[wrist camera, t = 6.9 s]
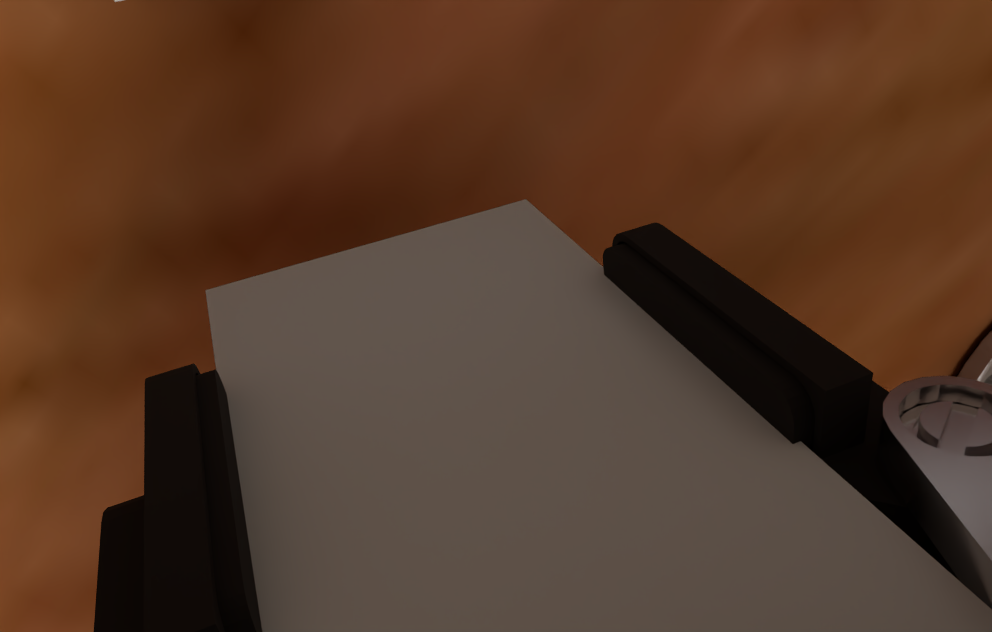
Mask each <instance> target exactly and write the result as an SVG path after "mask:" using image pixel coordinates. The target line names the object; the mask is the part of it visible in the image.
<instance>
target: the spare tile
mask: <svg viewBox="0 0 992 632" xmlns="http://www.w3.org/2000/svg"><path fill="white" fill-rule="evenodd" d="M206 298H207V305H208V313H209V320H210V328H211V335H212V342H213V350H214V357H215V365H216V371H217V372H218V374H219V376H220V378H221V381H222V383H223V386H224V388H225V391H226V393H227V399H228V406H229V413H230V419H231V426H232V433H233V440H234V446H235V453H236V460H237V466H238V473H239V480H240V486H241V493H242V500H243V506H244V513H245V520H246V526H247V533H248V540H249V546H250V553H251V560H252V566H253V573H254V580H255V586H256V593H257V600H258V607H259V613H260V620H261V627H262V632H992V609H991V608H989V607H988V606H987V605H986V604H985V603H984V602H983V601H982V600H980V599H979V598H978V597H977V596H976V595H975V594H974V593H972V592H971V591H970V590H969V589H968V588H967V587H966V586H964V585H963V584H962V583H961V582H960V581H959V580H958V579H957V578H955V577H954V576H953V575H952V574H951V573H950V572H949V571H947V570H946V569H945V568H944V567H943V566H942V565H941V564H940V563H938V562H937V561H936V560H935V559H934V558H933V557H932V556H930V555H929V554H928V553H927V552H926V551H925V550H924V549H922V548H921V547H920V546H919V545H918V544H917V543H916V542H915V541H913V540H912V539H911V538H910V537H909V536H908V535H907V534H905V533H904V532H903V531H902V530H901V529H900V528H899V527H898V526H896V525H895V524H894V523H893V522H892V521H891V520H890V519H888V518H887V517H886V516H885V515H884V514H883V513H882V512H880V511H879V510H878V509H877V508H876V507H875V506H874V505H873V504H871V503H870V502H869V501H868V500H867V499H866V498H865V497H863V496H862V495H861V494H860V493H859V492H858V491H857V490H856V489H854V488H853V487H852V486H851V485H850V484H849V483H848V482H846V481H845V480H844V479H843V478H842V477H841V476H840V475H838V474H837V473H836V472H835V471H834V470H833V469H832V468H831V467H829V466H828V465H827V464H826V463H825V462H824V461H823V460H821V459H820V458H819V457H818V456H817V455H816V454H815V453H814V452H812V451H811V450H810V449H809V448H808V447H807V446H806V445H804V444H803V443H802V442H801V441H800V442H797V443H795V444H792V443H791V442H790V441H789V440H788V439H786V438H785V437H784V436H783V435H782V434H781V433H780V432H779V431H778V430H776V429H775V428H774V427H773V426H772V425H771V424H770V423H769V422H768V421H766V420H765V419H764V418H763V417H762V416H761V415H760V414H759V413H757V412H756V411H755V410H754V409H753V408H752V407H751V406H750V405H749V404H747V403H746V402H745V401H744V400H743V399H742V398H741V397H740V396H739V395H737V394H736V393H735V392H734V391H733V390H732V389H731V388H730V387H728V386H727V385H726V384H725V383H724V382H723V381H722V380H721V379H720V378H718V377H717V376H716V375H715V374H714V373H713V372H712V371H711V370H710V369H708V368H707V367H706V366H705V365H704V364H703V363H702V362H701V361H699V360H698V359H697V358H696V357H695V356H694V355H693V354H692V353H691V352H689V351H688V350H687V349H686V348H685V347H684V346H683V345H682V344H681V343H679V342H678V341H677V340H676V339H675V338H674V337H673V336H672V335H671V334H669V333H668V332H667V331H666V330H665V329H664V328H663V327H662V326H660V325H659V324H658V323H657V322H656V321H655V320H654V319H653V318H652V317H650V316H649V315H648V314H647V313H646V312H645V311H644V310H643V309H642V308H640V307H639V306H638V305H637V304H636V303H635V302H634V301H633V300H631V299H630V298H629V297H628V296H627V295H626V294H625V293H624V292H623V291H621V290H620V289H619V288H618V287H617V286H616V285H615V284H614V283H613V282H611V281H610V280H609V279H608V278H607V277H606V276H605V275H604V268H603V267H602V266H601V265H600V264H599V263H598V262H597V261H596V260H594V259H593V258H592V257H591V256H590V255H589V254H588V253H586V252H585V251H584V250H583V249H582V248H581V247H580V246H579V245H577V244H576V243H575V242H574V241H573V240H572V239H571V238H569V237H568V236H567V235H566V234H565V233H564V232H563V231H561V230H560V229H559V228H558V227H557V226H556V225H555V224H554V223H552V222H551V221H550V220H549V219H548V218H547V217H546V216H544V215H543V214H542V213H541V212H540V211H539V210H538V209H537V208H535V207H534V206H533V205H532V204H531V203H530V202H529V201H527V200H526V199H525V200H521V201H518V202H514V203H511V204H507V205H504V206H500V207H497V208H493V209H490V210H486V211H483V212H479V213H476V214H472V215H469V216H465V217H462V218H458V219H455V220H451V221H448V222H444V223H440V224H437V225H433V226H430V227H426V228H423V229H419V230H416V231H412V232H409V233H405V234H402V235H398V236H395V237H391V238H388V239H384V240H381V241H377V242H374V243H370V244H367V245H363V246H360V247H356V248H352V249H349V250H345V251H342V252H338V253H335V254H331V255H328V256H324V257H321V258H317V259H314V260H310V261H307V262H303V263H300V264H296V265H293V266H289V267H286V268H282V269H279V270H275V271H271V272H268V273H264V274H261V275H257V276H254V277H250V278H247V279H243V280H240V281H236V282H233V283H229V284H226V285H222V286H219V287H215V288H212V289H208V290H206Z"/></svg>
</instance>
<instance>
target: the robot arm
mask: <svg viewBox="0 0 992 632" xmlns="http://www.w3.org/2000/svg"><path fill="white" fill-rule="evenodd" d="M603 268H604V275H605V276H606V277H607V278H608V279H609V280H610V281H611V282H613V283H614V284H615V285H616V286H617V287H618V288H619V289H620V290H621V291H623V292H624V293H625V294H626V295H627V296H628V297H629V298H630V299H631V300H633V301H634V302H635V303H636V304H637V305H638V306H639V307H640V308H642V309H643V310H644V311H645V312H646V313H647V314H648V315H649V316H650V317H652V318H653V319H654V320H655V321H656V322H657V323H658V324H659V325H660V326H662V327H663V328H664V329H665V330H666V331H667V332H668V333H669V334H671V335H672V336H673V337H674V338H675V339H676V340H677V341H678V342H679V343H681V344H682V345H683V346H684V347H685V348H686V349H687V350H688V351H689V352H691V353H692V354H693V355H694V356H695V357H696V358H697V359H698V360H699V361H701V362H702V363H703V364H704V365H705V366H706V367H707V368H708V369H710V370H711V371H712V372H713V373H714V374H715V375H716V376H717V377H718V378H720V379H721V380H722V381H723V382H724V383H725V384H726V385H727V386H728V387H730V388H731V389H732V390H733V391H734V392H735V393H736V394H737V395H739V396H740V397H741V398H742V399H743V400H744V401H745V402H746V403H747V404H749V405H750V406H751V407H752V408H753V409H754V410H755V411H756V412H757V413H759V414H760V415H761V416H762V417H763V418H764V419H765V420H766V421H768V422H769V423H770V424H771V425H772V426H773V427H774V428H775V429H776V430H778V431H779V432H780V433H781V434H782V435H783V436H784V437H785V438H786V439H788V440H789V441H790V442H791V443H792V444H795V443H797V442H800V441H801V442H802V443H803V444H804V445H806V446H807V447H808V448H809V449H810V450H811V451H812V452H814V453H815V454H816V455H817V456H818V457H819V458H820V459H821V460H823V461H824V462H825V463H826V464H827V465H828V466H829V467H831V468H832V469H833V470H834V471H835V472H836V473H837V474H838V475H840V476H841V477H842V478H843V479H844V480H845V481H846V482H848V483H849V484H850V485H851V486H852V487H853V488H854V489H856V490H857V491H858V492H859V493H860V494H861V495H862V496H863V497H865V498H866V499H867V500H868V501H869V502H870V503H871V504H873V505H874V506H875V507H876V508H877V509H878V510H879V511H880V512H882V513H883V514H884V515H885V516H886V517H887V518H888V519H890V520H891V521H892V522H893V523H894V524H895V525H896V526H898V527H899V528H900V529H901V530H902V531H903V532H904V533H905V534H907V535H908V536H909V537H910V538H911V539H912V540H913V541H915V542H916V543H917V544H918V545H919V546H920V547H921V548H922V549H924V550H925V551H926V552H927V553H928V554H929V555H930V556H932V557H933V558H934V559H935V560H936V561H937V562H938V563H940V564H941V565H942V566H943V567H944V568H945V569H946V570H947V571H949V572H950V573H951V574H952V575H953V576H954V577H955V578H957V579H958V580H959V581H960V582H961V583H962V584H963V585H964V586H966V587H967V588H968V589H969V590H970V591H971V592H972V593H974V594H975V595H976V596H977V597H978V598H979V599H980V600H982V601H983V602H984V603H985V604H986V605H987V606H988V607H989V608H991V609H992V330H991V331H990V332H989V333H988V335H987V336H986V337H985V338H984V339H983V340H982V341H981V343H980V344H979V345H978V347H977V348H976V349H975V351H974V352H973V353H972V355H971V356H970V357H969V359H968V360H967V361H966V363H965V364H964V366H963V368H962V369H961V371H960V373H959V375H958V376H957V377H952V376H933V377H922V378H918V379H914V380H911V381H907V382H904V383H902V384H901V385H899V386H898V387H896V388H894V389H893V390H891V391H890V393H889V392H888V391H886V390H885V389H884V388H882V387H881V386H879V385H878V384H877V383H875V382H874V381H872V377H873V373H872V372H871V371H870V370H868V369H867V368H865V367H864V366H862V365H861V364H860V363H858V362H857V361H855V360H854V359H852V358H851V357H850V356H848V355H847V354H845V353H844V352H842V351H841V350H840V349H838V348H837V347H835V346H834V345H832V344H831V343H830V342H828V341H827V340H825V339H824V338H822V337H821V336H820V335H818V334H817V333H815V332H814V331H812V330H811V329H810V328H808V327H807V326H805V325H804V324H802V323H801V322H800V321H798V320H797V319H795V318H794V317H792V316H791V315H790V314H788V313H787V312H785V311H784V310H782V309H781V308H780V307H778V306H777V305H775V304H774V303H772V302H771V301H770V300H768V299H767V298H765V297H764V296H762V295H761V294H760V293H758V292H757V291H755V290H754V289H752V288H751V287H750V286H748V285H747V284H745V283H744V282H742V281H741V280H740V279H738V278H737V277H735V276H734V275H732V274H731V273H730V272H728V271H727V270H725V269H724V268H722V267H721V266H720V265H718V264H717V263H715V262H714V261H713V260H711V259H710V258H708V257H707V256H705V255H704V254H703V253H701V252H700V251H698V250H697V249H695V248H694V247H693V246H691V245H690V244H688V243H687V242H685V241H684V240H683V239H681V238H680V237H678V236H677V235H675V234H674V233H673V232H671V231H670V230H668V229H667V228H665V227H664V226H663V225H661V224H659V223H652V224H648V225H645V226H642V227H639V228H635V229H632V230H629V231H626V232H622V233H619V234H617V235H616V236H615V237H614V240H613V244H612V247H610V248H607V249H605V251H604V254H603ZM94 632H262V627H261V620H260V613H259V607H258V600H257V593H256V586H255V580H254V573H253V566H252V560H251V553H250V546H249V540H248V533H247V526H246V520H245V513H244V506H243V500H242V493H241V486H240V480H239V473H238V466H237V460H236V453H235V446H234V440H233V433H232V426H231V419H230V413H229V406H228V399H227V393H226V391H225V388H224V386H223V383H222V381H221V378H220V376H219V374H218V372H217V371H216V370H212V371H209V372H206V373H203V374H200V372H199V370H198V369H197V367H196V365H195V364H191V365H187V366H184V367H181V368H178V369H174V370H171V371H168V372H165V373H161V374H158V375H155V376H152V377H148V378H146V379H145V449H144V495H143V496H140V497H138V498H135V499H132V500H129V501H126V502H123V503H120V504H117V505H114V506H111V507H108V508H107V509H106V510H105V511H104V512H103V517H102V522H101V536H100V550H99V564H98V579H97V593H96V607H95V622H94Z"/></svg>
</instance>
